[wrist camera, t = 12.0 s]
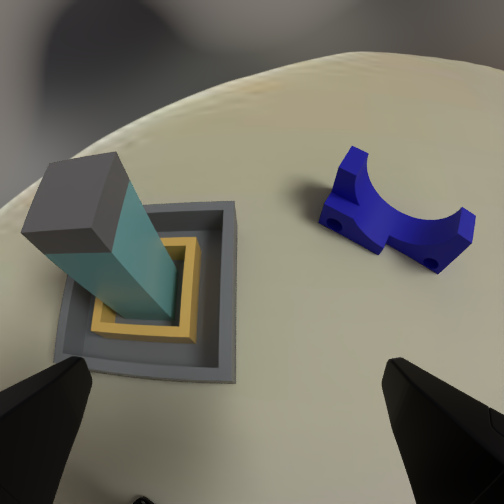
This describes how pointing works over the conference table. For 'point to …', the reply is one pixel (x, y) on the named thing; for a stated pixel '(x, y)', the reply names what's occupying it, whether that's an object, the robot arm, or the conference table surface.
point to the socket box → (186, 312)
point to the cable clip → (391, 220)
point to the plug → (103, 236)
